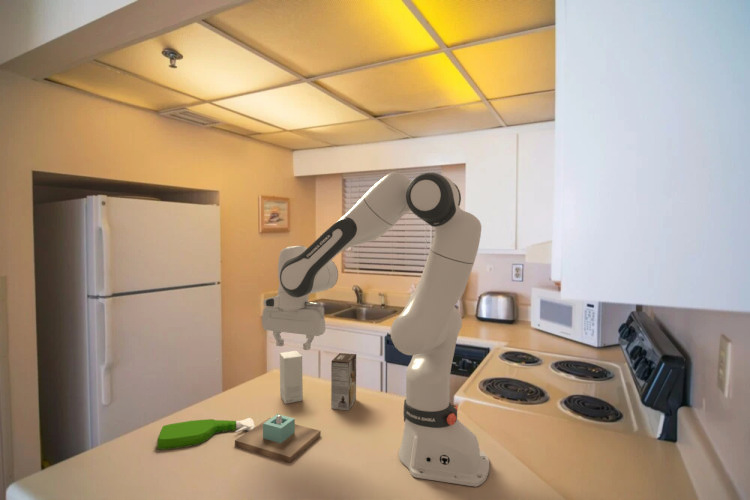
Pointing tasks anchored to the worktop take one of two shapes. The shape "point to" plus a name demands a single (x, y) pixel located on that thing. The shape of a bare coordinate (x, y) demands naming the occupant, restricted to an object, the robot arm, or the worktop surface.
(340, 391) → the coffee box
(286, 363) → the skincare box
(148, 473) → the worktop surface
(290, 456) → the walnut board
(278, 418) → the clear glass vial
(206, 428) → the spray bottle
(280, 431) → the teal square ring
